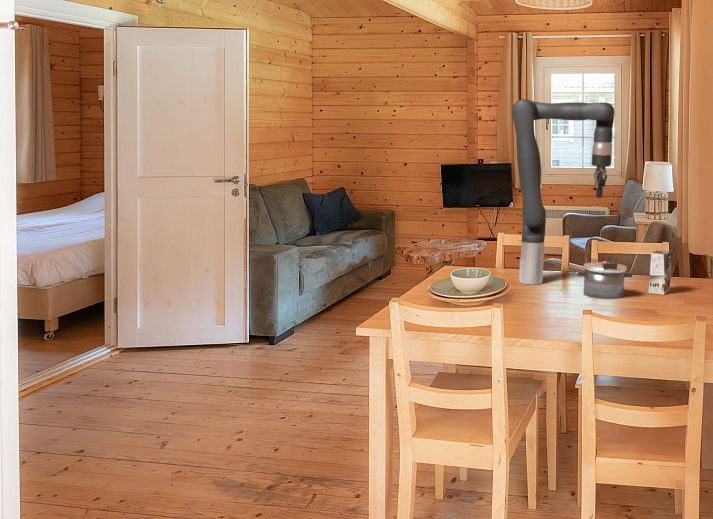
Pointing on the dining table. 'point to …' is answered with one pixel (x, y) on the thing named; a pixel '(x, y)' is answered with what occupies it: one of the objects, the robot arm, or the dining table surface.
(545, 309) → the dining table surface
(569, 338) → the dining table surface
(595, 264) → the lid
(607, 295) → the cooker body
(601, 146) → the robot arm
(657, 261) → the coffee box
